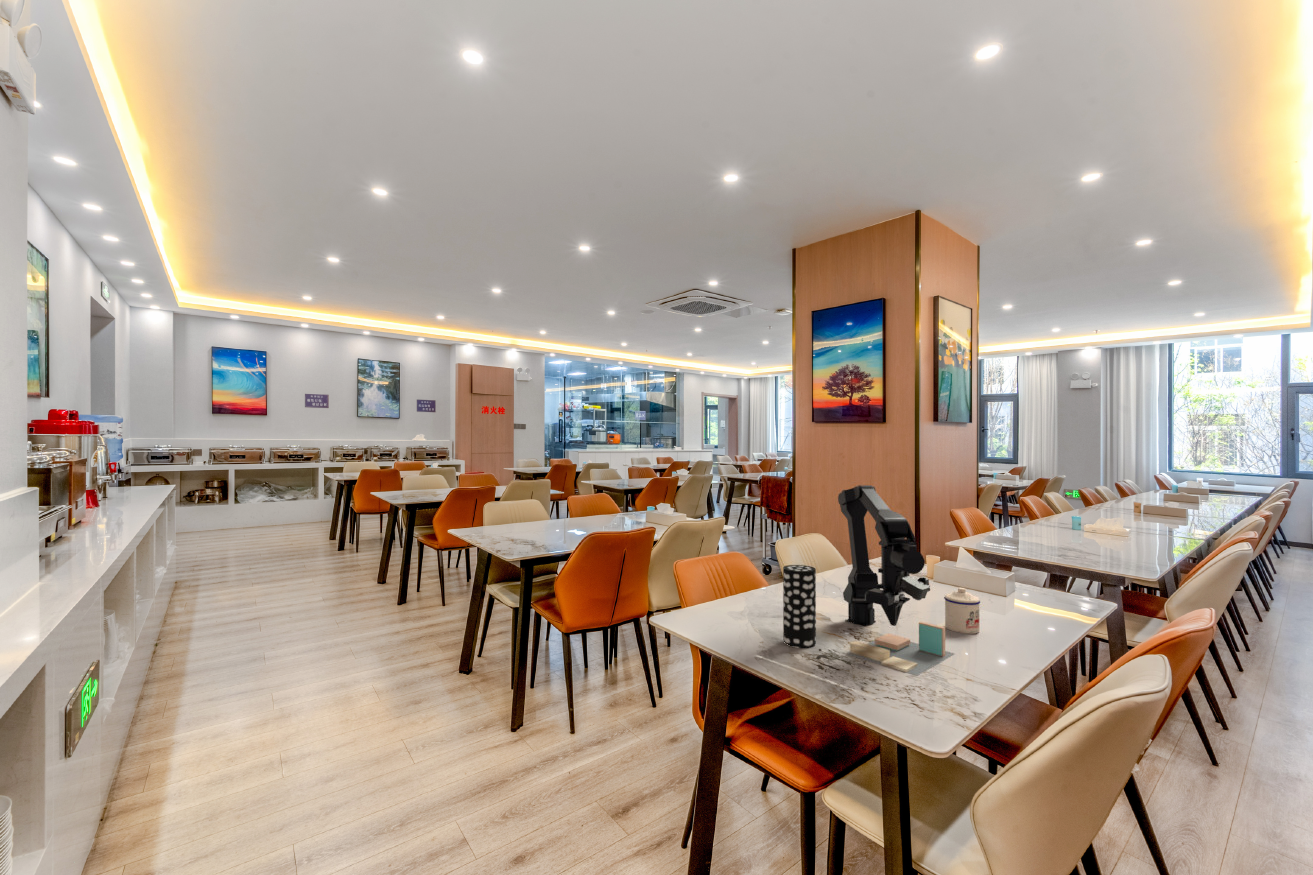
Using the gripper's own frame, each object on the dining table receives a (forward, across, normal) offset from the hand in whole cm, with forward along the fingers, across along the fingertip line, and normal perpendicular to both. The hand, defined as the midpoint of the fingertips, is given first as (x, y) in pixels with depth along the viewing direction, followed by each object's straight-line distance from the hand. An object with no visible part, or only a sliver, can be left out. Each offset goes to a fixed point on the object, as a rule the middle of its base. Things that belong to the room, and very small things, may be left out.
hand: (893, 625), depth 148 cm
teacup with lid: (+6, +30, -6) cm, 31 cm away
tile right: (+5, +2, -9) cm, 11 cm away
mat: (+6, -5, -4) cm, 8 cm away
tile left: (+4, +3, 0) cm, 5 cm away
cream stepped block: (+5, -12, -3) cm, 13 cm away
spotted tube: (+6, -17, +17) cm, 25 cm away
